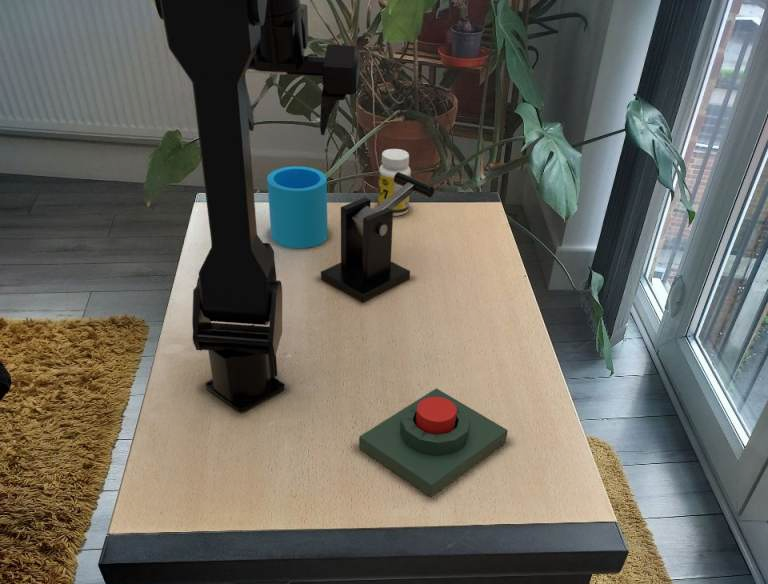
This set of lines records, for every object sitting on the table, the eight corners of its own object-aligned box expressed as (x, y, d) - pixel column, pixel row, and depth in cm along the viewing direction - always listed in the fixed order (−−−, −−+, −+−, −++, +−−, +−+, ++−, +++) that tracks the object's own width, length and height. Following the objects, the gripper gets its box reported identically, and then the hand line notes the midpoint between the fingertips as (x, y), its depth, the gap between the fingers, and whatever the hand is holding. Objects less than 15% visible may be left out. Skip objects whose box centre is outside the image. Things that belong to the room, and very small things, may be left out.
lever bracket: (368, 257, 110) (369, 188, 103) (410, 279, 106) (414, 208, 99) (320, 279, 105) (318, 208, 98) (362, 303, 102) (364, 230, 95)
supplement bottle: (373, 205, 122) (374, 149, 116) (401, 201, 123) (404, 145, 117) (384, 218, 119) (386, 161, 113) (413, 214, 120) (416, 158, 114)
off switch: (430, 497, 77) (433, 471, 74) (358, 448, 82) (359, 422, 79) (505, 442, 83) (510, 416, 81) (435, 400, 88) (437, 374, 85)
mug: (331, 246, 112) (330, 189, 106) (274, 250, 111) (270, 192, 105) (320, 209, 120) (318, 154, 114) (266, 211, 119) (262, 156, 113)
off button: (437, 440, 78) (438, 426, 77) (407, 422, 80) (408, 408, 79) (463, 422, 80) (464, 409, 79) (433, 405, 82) (435, 391, 81)
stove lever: (402, 182, 106) (399, 166, 104) (435, 197, 103) (433, 181, 101) (344, 228, 102) (340, 212, 100) (377, 244, 99) (374, 228, 97)
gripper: (364, -31, 91) (365, 97, 105) (205, -40, 92) (227, 89, 105) (354, 22, 86) (357, 150, 99) (185, 13, 86) (211, 141, 100)
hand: (287, 131), depth 101 cm, fingers open, 9 cm apart
